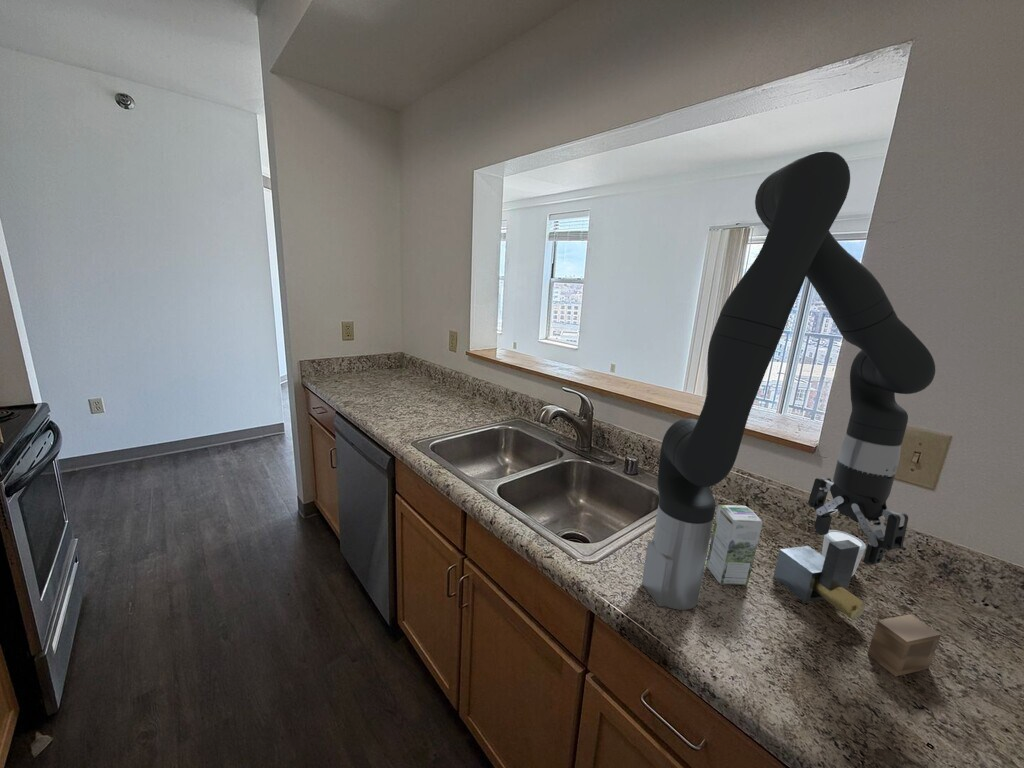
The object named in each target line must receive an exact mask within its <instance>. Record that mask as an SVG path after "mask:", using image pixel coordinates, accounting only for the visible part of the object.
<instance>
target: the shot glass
mask: <svg viewBox="0 0 1024 768" xmlns="http://www.w3.org/2000/svg"><path fill="white" fill-rule="evenodd" d="M843 540H850V541H851V542H853V543H855V544H856V545H858V546H860V548H859V552H858V555H857V559H856V562H855V566H854V569H853V573H852V576H851V578H852V577H853V576H855V573H856V571H857V568H858V567H859V564H860V562H861V559H862V558H863V557H864V554H865V552H866V549H867V545H866V543H865V542H864V541H863V540H862V539H860V538H858V537H856V536H855V535H852V534H851V533H848V532H846V531H842V530H836V529H829V532H828V533H827V534H825V535H823V542H822V549H821V555H823V556H824V557H826V553H827V549H828V546H829V542H835V541H843Z"/></svg>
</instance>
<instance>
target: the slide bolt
mask: <svg viewBox="0 0 1024 768" xmlns="http://www.w3.org/2000/svg"><path fill="white" fill-rule="evenodd" d="M859 548H860V546H858V545H856V544H855V543H853V542H851V541H850V540H843V541H835V542H829V546H828V549H827V553H826V557H825V561H824V564H823V568H822V572H821V576H816V578H815V582H814V586H813V590H814V591H815V592H817V593H818V594H819V595H821V596H822V597H823V598H824V599H825V600H826V601H827V602H828V603H830V604H831V605H832V606H834V608H836V609H837V610H839V611H840V612H841V613H842V614H844V615H845V616H847V618H849V619H851V620H856V619H858V618H860V617H861V616H862V615H863V614H864V612H865V609H866V603H865V602H864V601H862V600H861V599H860V598H858V597H857V596H855V595H854V594H852V593H851V592H850V591H849V590H847V588H849V586H850V583H851V579H852V577H853V576H852V573H853V569H854V566H855V562H856V559H857V555H858V552H859ZM851 576H852V577H851Z"/></svg>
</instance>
